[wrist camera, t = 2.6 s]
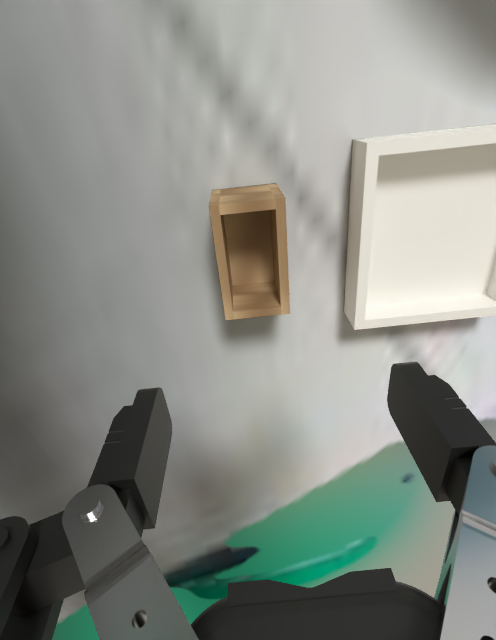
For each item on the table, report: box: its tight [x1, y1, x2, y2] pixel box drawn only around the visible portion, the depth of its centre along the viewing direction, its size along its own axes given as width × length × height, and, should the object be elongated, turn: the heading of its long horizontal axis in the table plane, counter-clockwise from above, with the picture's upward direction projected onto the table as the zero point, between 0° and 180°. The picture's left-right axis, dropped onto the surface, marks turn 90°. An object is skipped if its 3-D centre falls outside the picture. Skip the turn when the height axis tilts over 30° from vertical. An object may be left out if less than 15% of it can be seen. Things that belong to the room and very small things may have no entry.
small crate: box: [209, 183, 290, 320], centre depth 26 cm, size 5×8×5 cm, turn 5°
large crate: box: [344, 124, 496, 330], centre depth 26 cm, size 13×14×3 cm
